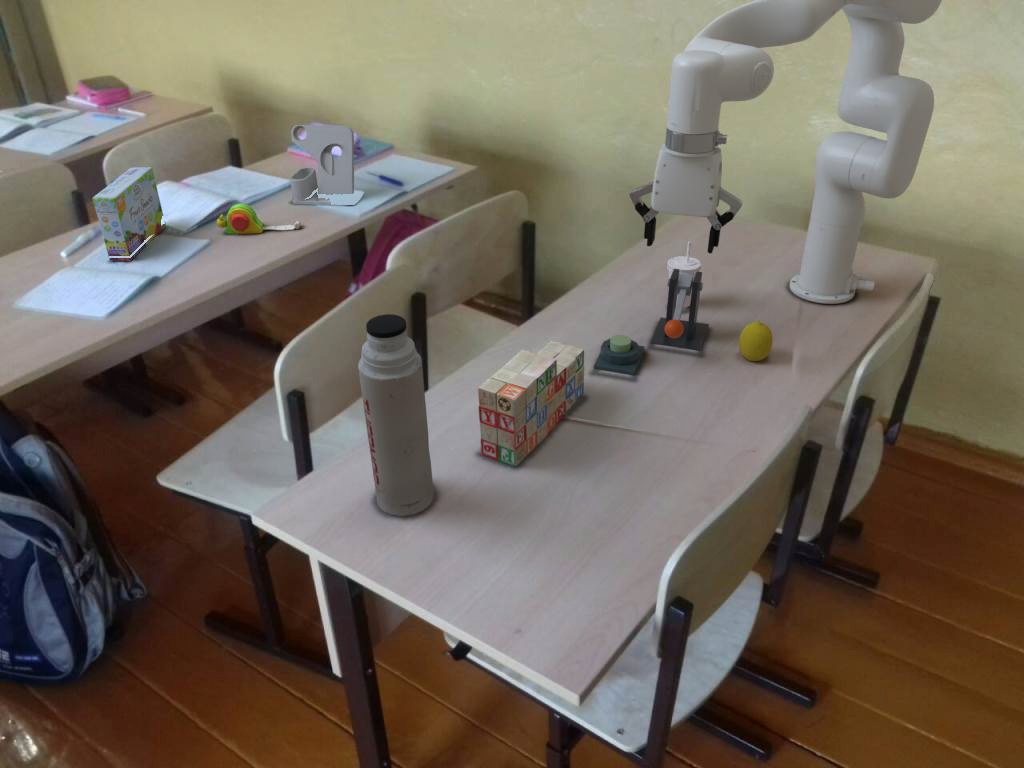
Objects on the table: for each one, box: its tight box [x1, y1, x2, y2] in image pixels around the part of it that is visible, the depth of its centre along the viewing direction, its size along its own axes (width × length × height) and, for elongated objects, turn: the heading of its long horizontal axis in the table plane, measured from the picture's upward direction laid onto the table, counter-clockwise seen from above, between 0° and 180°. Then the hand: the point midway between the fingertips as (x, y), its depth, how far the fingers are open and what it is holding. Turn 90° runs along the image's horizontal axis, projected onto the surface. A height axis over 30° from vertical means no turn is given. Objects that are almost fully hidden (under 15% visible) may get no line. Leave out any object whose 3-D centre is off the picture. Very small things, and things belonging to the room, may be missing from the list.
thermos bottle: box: [357, 313, 435, 517], centre depth 108 cm, size 8×8×28 cm
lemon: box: [738, 320, 774, 362], centre depth 142 cm, size 6×6×8 cm
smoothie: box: [666, 240, 702, 309], centre depth 158 cm, size 6×6×14 cm
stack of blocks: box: [477, 340, 585, 468], centre depth 126 cm, size 21×6×12 cm, turn 148°
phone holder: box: [289, 124, 355, 207], centre depth 212 cm, size 17×10×18 cm, turn 81°
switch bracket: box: [649, 269, 709, 352], centre depth 148 cm, size 10×9×13 cm
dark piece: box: [593, 337, 646, 376], centre depth 144 cm, size 9×7×4 cm
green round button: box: [609, 334, 632, 353], centre depth 143 cm, size 4×4×2 cm
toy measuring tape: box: [216, 203, 302, 235], centre depth 197 cm, size 6×20×7 cm, turn 96°
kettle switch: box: [665, 274, 693, 338], centre depth 143 cm, size 13×3×3 cm, turn 161°
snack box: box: [91, 166, 167, 262], centre depth 190 cm, size 21×6×15 cm, turn 179°
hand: (680, 246), depth 132 cm, fingers open, 9 cm apart
